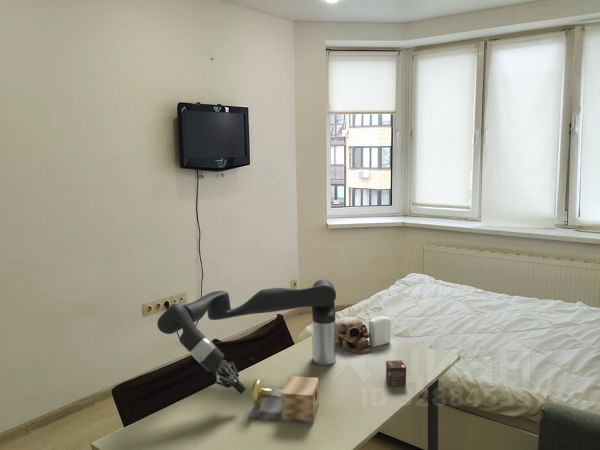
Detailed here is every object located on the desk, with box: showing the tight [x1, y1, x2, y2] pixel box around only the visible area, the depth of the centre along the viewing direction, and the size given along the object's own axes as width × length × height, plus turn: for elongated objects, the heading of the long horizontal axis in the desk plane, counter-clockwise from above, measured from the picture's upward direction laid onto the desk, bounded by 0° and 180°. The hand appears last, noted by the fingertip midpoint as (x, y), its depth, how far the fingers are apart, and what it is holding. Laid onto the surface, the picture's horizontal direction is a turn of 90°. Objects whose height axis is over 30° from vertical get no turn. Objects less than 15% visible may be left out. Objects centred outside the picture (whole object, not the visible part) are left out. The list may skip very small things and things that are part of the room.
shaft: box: [251, 379, 283, 406], centre depth 157 cm, size 16×8×8 cm, turn 79°
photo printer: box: [368, 315, 392, 348], centre depth 211 cm, size 10×4×12 cm, turn 119°
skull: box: [335, 316, 372, 354], centre depth 210 cm, size 16×17×13 cm
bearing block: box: [248, 375, 320, 425], centre depth 157 cm, size 21×12×10 cm, turn 79°
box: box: [385, 359, 407, 388], centre depth 176 cm, size 6×6×7 cm
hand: (243, 391), depth 159 cm, fingers closed
